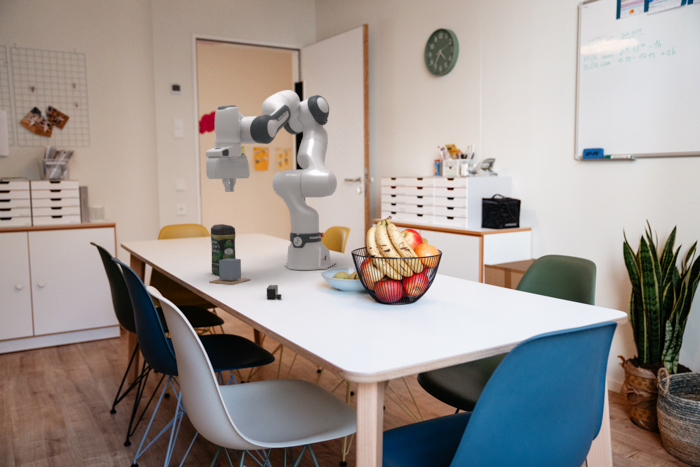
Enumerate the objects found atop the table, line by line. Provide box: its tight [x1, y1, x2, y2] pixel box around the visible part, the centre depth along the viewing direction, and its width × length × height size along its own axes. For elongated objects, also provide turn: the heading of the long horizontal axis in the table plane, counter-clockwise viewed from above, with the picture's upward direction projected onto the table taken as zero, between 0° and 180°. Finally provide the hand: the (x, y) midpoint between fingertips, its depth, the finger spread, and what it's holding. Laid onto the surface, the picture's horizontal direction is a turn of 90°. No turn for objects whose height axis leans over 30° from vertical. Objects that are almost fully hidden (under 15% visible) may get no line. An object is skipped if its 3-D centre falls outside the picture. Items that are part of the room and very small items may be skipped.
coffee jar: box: [210, 223, 237, 276], centre depth 213 cm, size 10×8×19 cm
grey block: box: [218, 258, 242, 280], centre depth 197 cm, size 5×5×7 cm
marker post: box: [208, 277, 251, 286], centre depth 198 cm, size 10×10×7 cm
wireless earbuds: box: [266, 284, 283, 300], centre depth 172 cm, size 4×7×3 cm, turn 179°
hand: (229, 191), depth 202 cm, fingers closed
